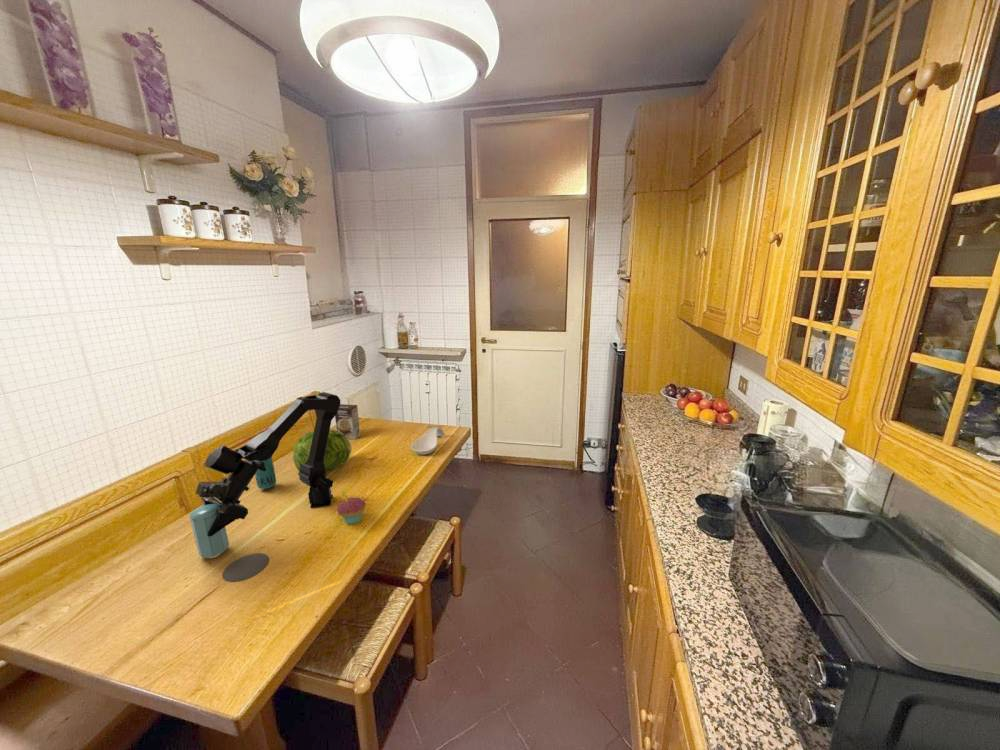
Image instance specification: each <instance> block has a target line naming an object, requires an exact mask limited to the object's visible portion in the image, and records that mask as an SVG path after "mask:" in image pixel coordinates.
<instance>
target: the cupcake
mask: <svg viewBox="0 0 1000 750" xmlns="http://www.w3.org/2000/svg"><path fill="white" fill-rule="evenodd" d="M341 489H342V490H341V492H342V494H343V498H344V500H343V501H341V502H340V504H339V505H338V507H337V510H336V511H337V513H338V515H339V516H340V517H342V519H343V520H344V522H345V524H347V525H353V524H356V523H358V522H359V521H360V520H361V517H362V514H363V513H364V512H365V510H366V508H367V506H366V504H367V503H366V502H365V500H364V499H362V498H360V497H349V498H348V497H347V494H346V492H345V489H344V488H343V487H342V488H341Z"/></svg>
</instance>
